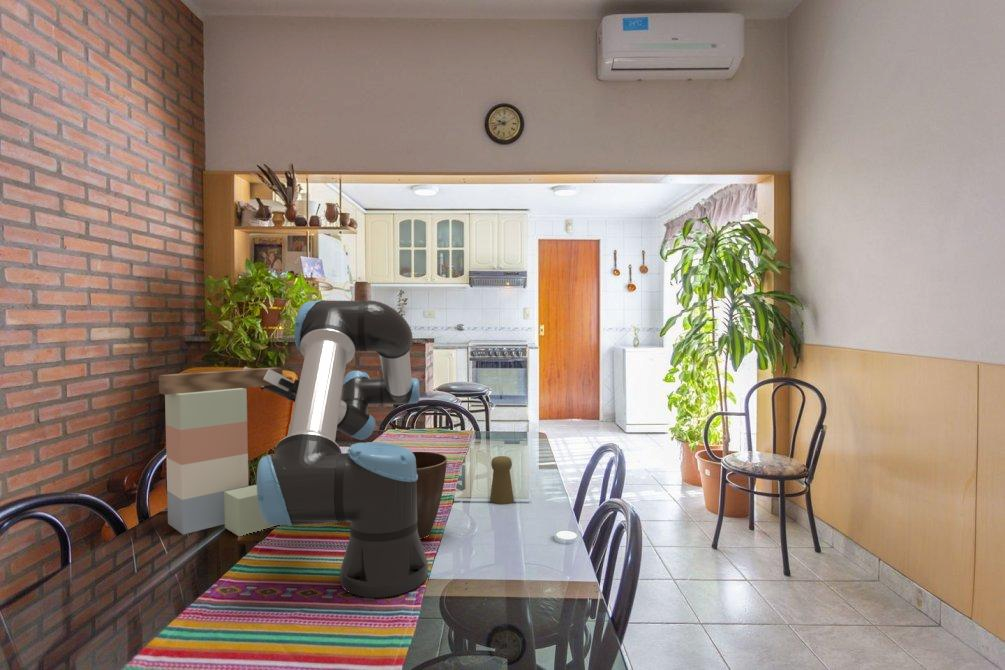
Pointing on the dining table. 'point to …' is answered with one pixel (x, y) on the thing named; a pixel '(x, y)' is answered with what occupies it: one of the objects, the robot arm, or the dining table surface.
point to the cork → (501, 481)
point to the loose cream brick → (243, 511)
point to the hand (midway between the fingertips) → (254, 372)
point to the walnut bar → (213, 380)
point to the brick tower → (204, 455)
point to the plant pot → (429, 488)
